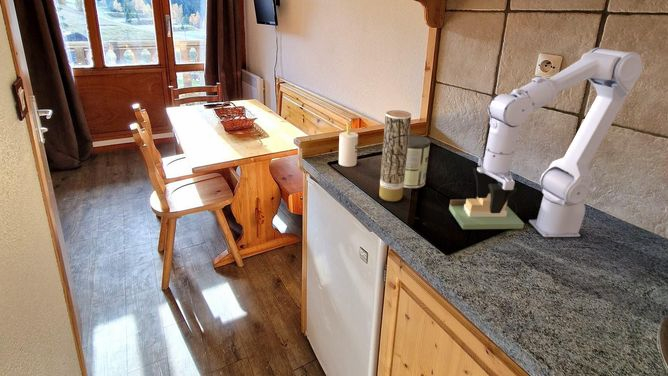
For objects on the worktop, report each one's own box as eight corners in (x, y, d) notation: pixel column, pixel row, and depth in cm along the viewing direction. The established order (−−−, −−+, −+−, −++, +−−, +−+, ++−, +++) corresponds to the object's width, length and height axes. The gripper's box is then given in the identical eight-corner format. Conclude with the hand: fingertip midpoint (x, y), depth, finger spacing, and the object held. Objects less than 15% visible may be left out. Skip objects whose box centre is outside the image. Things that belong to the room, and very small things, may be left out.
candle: (351, 168, 138) (353, 125, 132) (335, 164, 141) (336, 122, 135) (360, 162, 143) (362, 121, 137) (344, 158, 146) (345, 118, 140)
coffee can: (392, 174, 134) (395, 133, 128) (423, 176, 133) (428, 135, 127) (393, 187, 125) (397, 144, 119) (426, 189, 124) (432, 146, 118)
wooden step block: (499, 208, 110) (502, 193, 108) (506, 216, 106) (509, 200, 104) (463, 208, 110) (466, 193, 108) (469, 216, 106) (472, 200, 104)
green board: (504, 208, 114) (506, 199, 113) (523, 228, 104) (525, 218, 103) (448, 209, 113) (450, 199, 111) (462, 229, 103) (464, 219, 102)
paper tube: (403, 202, 115) (413, 117, 105) (379, 202, 115) (387, 116, 105) (400, 192, 122) (409, 110, 111) (377, 191, 122) (384, 109, 111)
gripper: (469, 139, 95) (460, 191, 101) (496, 162, 82) (483, 220, 88) (498, 139, 96) (488, 191, 102) (529, 162, 83) (515, 219, 89)
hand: (488, 204), depth 95 cm, fingers open, 7 cm apart
